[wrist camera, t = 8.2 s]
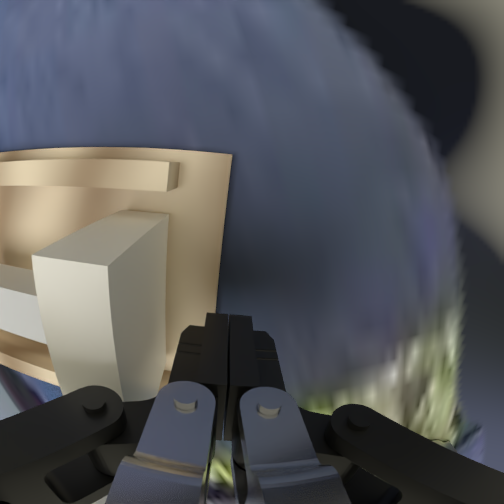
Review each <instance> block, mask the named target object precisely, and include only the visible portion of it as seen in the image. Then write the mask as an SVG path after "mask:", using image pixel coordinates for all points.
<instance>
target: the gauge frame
mask: <svg viewBox="0 0 504 504" xmlns="http://www.w3.org/2000/svg"><path fill="white" fill-rule="evenodd" d="M231 162H232V155H231V154H222V153H212V152H201V151H189V150H174V149H157V148H131V147H74V148H49V149H33V150H21V151H10V152H1V153H0V264H4V265H9V266H14V267H19V268H24V269H29V270H33V265H32V254H34V253H36V252H38V251H40V250H41V249H43V248H45V247H47V246H49V245H51V244H53V243H54V242H56V241H58V240H60V239H62V238H64V237H66V236H68V235H70V234H72V233H74V232H76V231H78V230H80V229H82V228H84V227H86V226H88V225H90V224H92V223H94V222H96V221H99V220H101V219H103V218H105V217H107V216H109V215H111V214H114V213H116V212H118V211H120V210H128V211H140V212H152V213H163V214H169V222H168V239H167V260H166V302H165V325H166V365H165V368H164V372H163V375H162V379H161V382H160V386H159V390H158V392H159V391H160V389H161V388H162V387H164V386H165V385H167V384H168V381H169V377H170V373H171V369H172V366H173V362H174V358H175V354H176V350H177V346H178V344H179V339H180V335H181V332H182V331H184V330H185V329H186V328H187V327H188V326H189V325H195V326H205V319H206V313H207V312H209V313H215V311H216V299H217V289H218V278H219V268H220V258H221V248H222V239H223V230H224V221H225V212H226V203H227V195H228V186H229V178H230V170H231ZM0 364H2V365H5V366H7V367H9V368H12V369H14V370H16V371H19V372H21V373H24V374H26V375H29V376H32V377H34V378H37V379H40V380H42V381H45V382H48V383H51V384H54V385H57V386H59V383H58V380H57V377H56V373H55V370H54V367H53V364H52V360H51V357H50V353H49V349H48V346H47V344H44V343H41V342H38V341H35V340H31V339H28V338H25V337H22V336H19V335H16V334H14V333H11V332H8V331H5V330H3V329H0ZM157 394H158V393H157Z"/></svg>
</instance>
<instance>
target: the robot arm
mask: <svg viewBox="0 0 504 504" xmlns="http://www.w3.org/2000/svg"><path fill="white" fill-rule="evenodd" d="M223 420H224V440H227V441H232V456H231V470H232V477H233V485H234V492H235V499H236V504H504V473H503V472H500V471H497V470H495V469H492V468H490V467H487V466H485V465H483V464H481V463H478V462H476V461H474V460H471V459H469V458H467V457H465V456H462V455H460V454H458V453H457V452H456V450H455V449H454V447H453V446H452V444H451V443H450V441H447V442H442V441H440V440H434V441H431V440H429V439H427V438H425V437H423V436H421V435H419V434H417V433H415V432H413V431H411V430H409V429H407V428H405V427H404V426H402V425H400V424H398V423H396V422H394V421H392V420H391V419H389V418H387V417H385V416H383V415H381V414H380V413H378V412H376V411H374V410H373V409H371V408H369V407H366V406H363V405H359V404H347V405H343V406H341V407H339V408H337V409H336V410H335V411H334V412H333V414H332V416H331V415H325V414H320V413H314V412H310V411H307V410H304V409H302V408H300V407H298V405H297V403H296V401H295V400H294V398H293V397H292V396H291V395H289V394H288V393H287V392H286V390H285V386H284V382H283V377H282V373H281V369H280V365H279V361H278V356H277V352H276V347H275V343H274V340H273V339H272V338H271V337H270V336H269V334H268V333H267V332H266V331H253V326H252V318H251V316H243V315H231V314H230V315H229V323H228V314H219V313H209V312H207V313H206V319H205V326H195V325H189V326H188V327H187V328H186V329H185V330H184V331H182V332H181V335H180V339H179V344H178V346H177V350H176V354H175V358H174V362H173V366H172V369H171V373H170V377H169V381H168V384H167V385H165V386H164V387H162V388H161V389H160V391H159V392H158V394H157V396H156V397H154V398H151V399H148V400H143V401H129V402H122V399H121V397H120V396H119V395H118V394H117V393H116V392H115V391H113V390H112V389H110V388H107V387H104V386H98V385H92V386H86V387H82V388H80V389H77V390H75V391H73V392H70V393H68V394H66V395H63V396H61V397H59V398H56V399H54V400H51V401H49V402H47V403H44V404H42V405H39V406H37V407H34V408H32V409H29V410H27V411H24V412H22V413H19V414H16V415H14V416H11V417H8V418H6V419H3V420H0V504H92V503H94V502H96V501H98V500H99V499H101V498H103V497H105V496H107V495H108V496H107V499H106V502H105V504H206V501H207V494H208V486H209V478H210V471H211V463H212V459H213V457H214V453H215V442H216V440H222V430H223ZM364 469H365V470H364ZM369 472H370V473H369Z"/></svg>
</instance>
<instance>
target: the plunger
mask: <svg viewBox="0 0 504 504" xmlns="http://www.w3.org/2000/svg"><path fill="white" fill-rule="evenodd" d="M168 222H169V214H163V213H152V212H140V211H128V210H120V211H118V212H116V213H114V214H111V215H109V216H107V217H105V218H103V219H101V220H99V221H96V222H94V223H92V224H90V225H88V226H86V227H84V228H82V229H80V230H78V231H76V232H74V233H72V234H70V235H68V236H66V237H64V238H62V239H60V240H58V241H56V242H54V243H53V244H51V245H49V246H47V247H45V248H43V249H41V250H40V251H38V252H36V253H34V254H32V265H33V270H29V269H24V268H19V267H14V266H9V265H4V264H0V329H3V330H5V331H8V332H11V333H14V334H16V335H19V336H22V337H25V338H28V339H31V340H35V341H38V342H41V343H44V344H47V346H48V349H49V353H50V357H51V360H52V364H53V367H54V370H55V373H56V377H57V380H58V383H59V386H60V389H61V391H62V394H63V395H66V394H68V393H70V392H73V391H75V390H77V389H80V388H82V387H86V386H92V385H98V386H104V387H107V388H110V389H112V390H113V391H115V392H116V393H117V394H118V395H119V396H120V397H121V399H122V402H129V401H143V400H148V399H151V398H154V397H156V396H157V393H158V390H159V386H160V382H161V379H162V375H163V372H164V368H165V365H166V325H165V302H166V260H167V239H168Z"/></svg>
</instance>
